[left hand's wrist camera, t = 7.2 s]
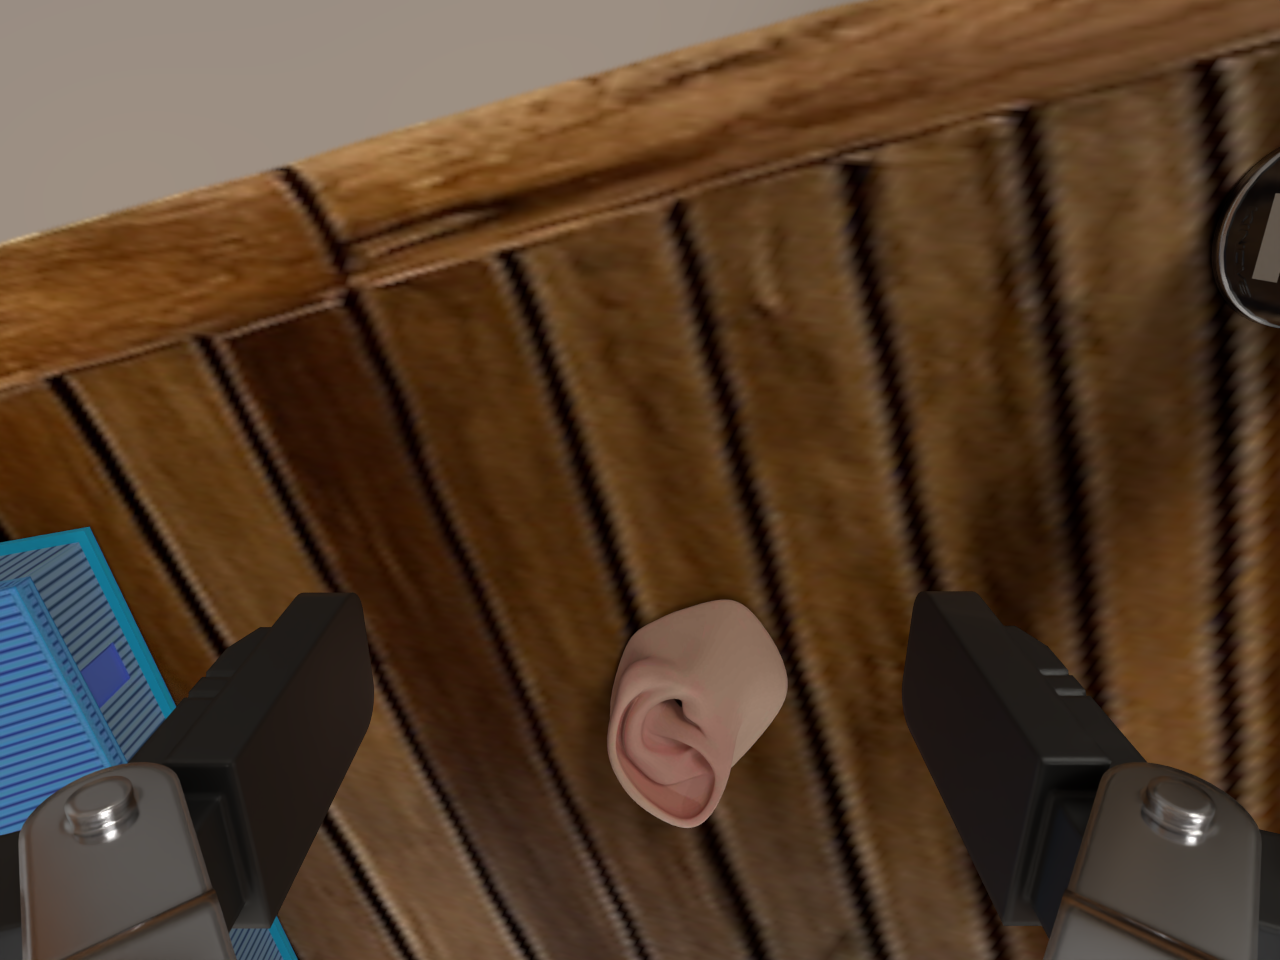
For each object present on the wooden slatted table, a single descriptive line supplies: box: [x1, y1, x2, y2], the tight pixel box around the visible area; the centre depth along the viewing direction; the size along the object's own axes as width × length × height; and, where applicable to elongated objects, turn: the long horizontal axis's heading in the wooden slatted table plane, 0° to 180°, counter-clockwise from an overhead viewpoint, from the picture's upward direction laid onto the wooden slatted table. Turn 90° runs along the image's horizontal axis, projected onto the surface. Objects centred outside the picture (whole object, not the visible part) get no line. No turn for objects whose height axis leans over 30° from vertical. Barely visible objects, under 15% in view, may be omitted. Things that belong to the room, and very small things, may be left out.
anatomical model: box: [607, 600, 788, 828], centre depth 48 cm, size 13×4×12 cm
